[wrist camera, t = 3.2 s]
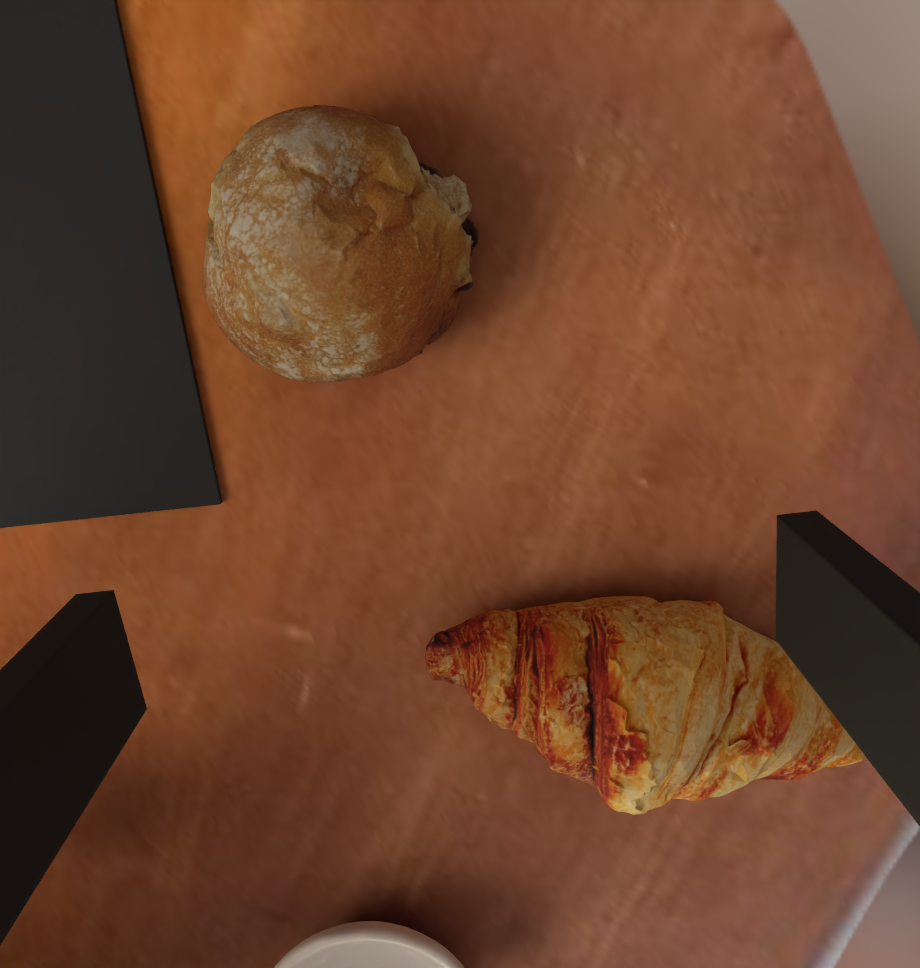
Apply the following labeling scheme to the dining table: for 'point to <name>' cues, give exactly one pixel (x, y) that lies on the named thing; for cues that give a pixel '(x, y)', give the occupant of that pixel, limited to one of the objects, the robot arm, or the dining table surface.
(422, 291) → the bread roll
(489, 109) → the dining table surface
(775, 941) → the dining table surface
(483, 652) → the croissant
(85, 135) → the placemat
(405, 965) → the spoon rest
